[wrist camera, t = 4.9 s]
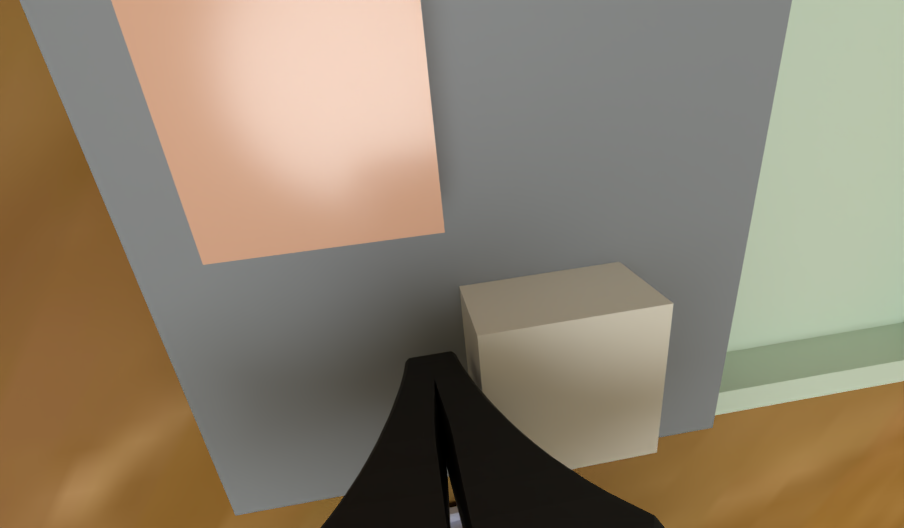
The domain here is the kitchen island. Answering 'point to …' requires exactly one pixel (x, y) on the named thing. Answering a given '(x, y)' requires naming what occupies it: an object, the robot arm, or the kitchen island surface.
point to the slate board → (450, 216)
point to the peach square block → (290, 120)
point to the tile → (572, 359)
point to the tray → (826, 215)
